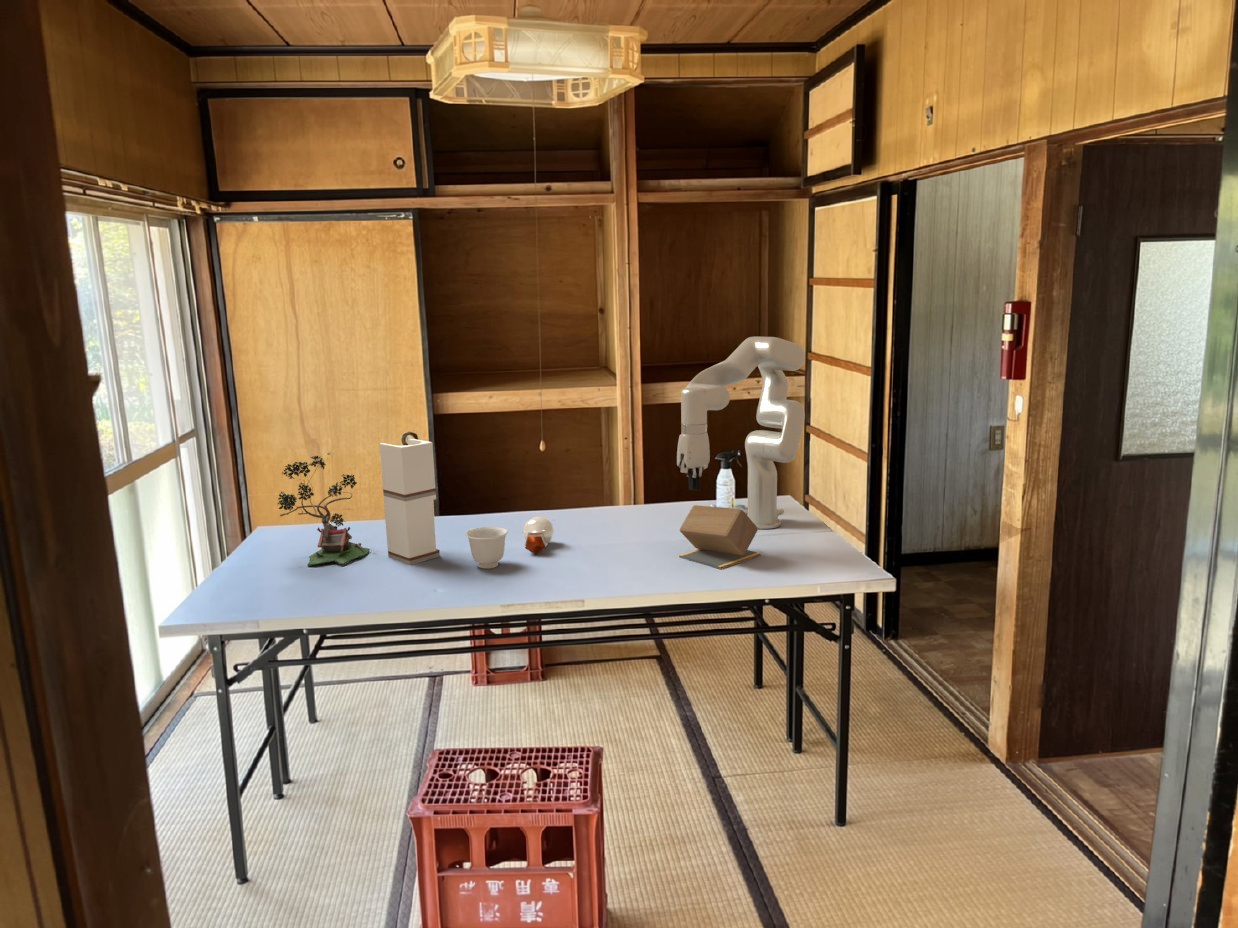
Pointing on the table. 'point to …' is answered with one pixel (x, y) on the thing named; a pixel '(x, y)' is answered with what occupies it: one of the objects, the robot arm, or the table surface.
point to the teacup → (487, 545)
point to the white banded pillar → (409, 500)
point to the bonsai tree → (325, 520)
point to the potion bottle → (537, 534)
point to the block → (719, 529)
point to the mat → (717, 557)
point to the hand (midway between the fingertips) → (694, 489)
